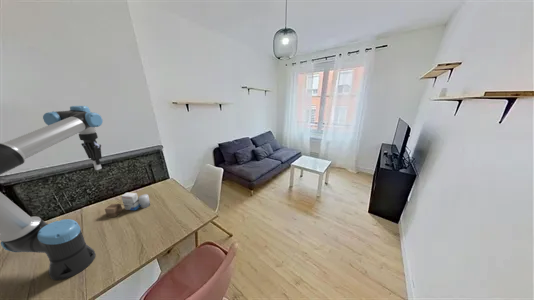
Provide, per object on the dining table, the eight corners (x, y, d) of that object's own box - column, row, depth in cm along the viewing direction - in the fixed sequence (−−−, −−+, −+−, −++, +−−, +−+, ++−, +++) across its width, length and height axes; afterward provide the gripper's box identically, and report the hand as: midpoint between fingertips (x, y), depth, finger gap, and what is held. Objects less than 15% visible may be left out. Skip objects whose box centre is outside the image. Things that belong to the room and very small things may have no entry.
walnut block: (115, 216, 117) (113, 209, 115) (106, 216, 117) (104, 209, 115) (122, 210, 122) (120, 203, 120) (114, 210, 122) (112, 203, 120)
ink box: (140, 206, 127) (137, 192, 124) (135, 210, 123) (131, 196, 119) (130, 205, 128) (126, 191, 124) (124, 209, 123) (120, 195, 120)
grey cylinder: (145, 208, 125) (142, 199, 122) (138, 207, 126) (136, 198, 124) (152, 204, 130) (150, 195, 128) (146, 202, 132) (144, 193, 129)
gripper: (102, 132, 102) (112, 168, 110) (87, 130, 105) (98, 165, 113) (87, 135, 95) (99, 173, 103) (71, 133, 99) (83, 170, 106)
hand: (98, 169), depth 108 cm, fingers closed
